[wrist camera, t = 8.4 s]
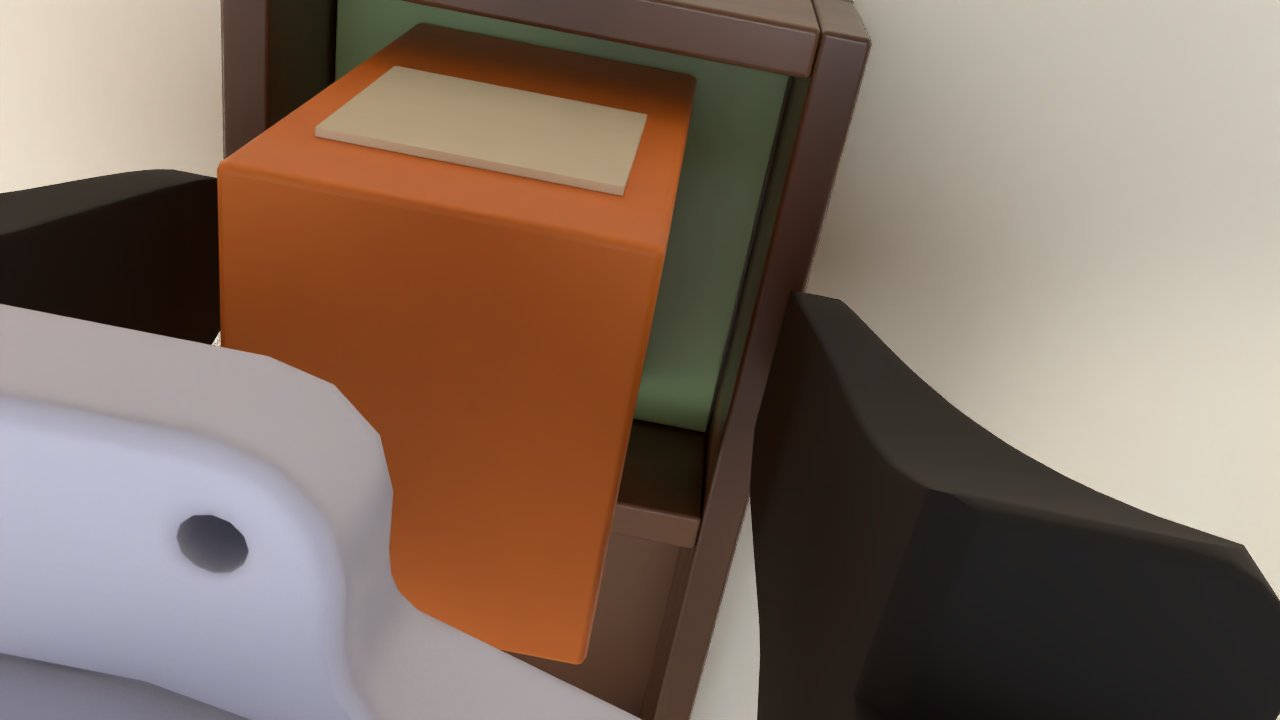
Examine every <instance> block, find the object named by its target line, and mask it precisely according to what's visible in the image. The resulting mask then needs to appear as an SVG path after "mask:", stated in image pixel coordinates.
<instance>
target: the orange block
mask: <svg viewBox="0 0 1280 720" xmlns="http://www.w3.org/2000/svg"><path fill="white" fill-rule="evenodd" d="M696 85H697V82H696V78H695V77H693V76H692V75H687V74H682V73H677V72H672V71H667V70H661V69H656V68H651V67H646V66H641V65H636V64H631V63H625V62H620V61H615V60H610V59H605V58H600V57H595V56H589V55H584V54H579V53H574V52H569V51H564V50H559V49H553V48H548V47H543V46H538V45H533V44H528V43H523V42H517V41H512V40H507V39H502V38H497V37H492V36H486V35H481V34H476V33H471V32H466V31H461V30H456V29H450V28H445V27H440V26H435V25H430V24H425V23H421V24H417V25H416V26H414V27H413V28H411V29H410V30H408V31H407V32H406V33H404V34H403V35H401V36H400V37H398V38H397V39H396V40H394V41H393V42H391V43H390V44H388V45H387V46H386V47H384V48H383V49H381V50H380V51H378V52H377V53H376V54H374V55H373V56H371V57H370V58H368V59H367V60H366V61H364V62H363V63H361V64H360V65H358V66H357V67H356V68H354V69H353V70H351V71H350V72H348V73H347V74H346V75H344V76H343V77H341V78H340V79H338V80H337V81H336V82H334V83H333V84H331V85H330V86H328V87H327V88H326V89H324V90H323V91H321V92H320V93H318V94H317V95H316V96H314V97H313V98H311V99H310V100H309V101H307V102H306V103H304V104H303V105H301V106H300V107H299V108H297V109H296V110H294V111H293V112H291V113H290V114H289V115H287V116H286V117H284V118H283V119H281V120H280V121H279V122H277V123H276V124H274V125H273V126H271V127H270V128H269V129H267V130H266V131H264V132H263V133H261V134H260V135H259V136H257V137H256V138H254V139H253V140H251V141H250V142H249V143H247V144H246V145H244V146H243V147H241V148H240V149H239V150H237V151H236V152H234V153H233V154H231V155H230V156H229V157H227V158H226V159H224V160H223V161H221V162H220V164H219V167H218V169H217V185H218V234H219V282H220V331H221V347H224V348H229V349H234V350H239V351H244V352H249V353H254V354H260V355H265V356H269V357H271V358H274V359H276V360H278V361H280V362H283V363H285V364H287V365H290V366H292V367H294V368H297V369H299V370H301V371H304V372H306V373H308V374H311V375H313V376H315V377H317V378H320V379H322V380H324V381H327V382H329V383H331V384H334V385H335V386H336V387H337V388H338V389H339V391H340V392H341V393H342V394H343V395H344V396H345V397H346V398H347V399H348V401H349V402H350V403H351V404H352V405H353V406H354V407H355V408H356V409H357V410H358V412H359V413H360V414H361V415H362V416H363V417H364V418H365V419H366V420H367V421H368V423H369V424H370V425H371V426H372V427H373V428H374V429H375V430H376V431H377V432H378V434H379V435H380V438H381V442H382V446H383V450H384V454H385V459H386V463H387V467H388V471H389V476H390V480H391V484H392V488H393V503H392V517H391V530H390V544H389V553H390V564H391V575H392V577H393V579H394V582H395V584H396V586H397V589H398V590H399V592H400V593H401V594H402V595H403V596H404V597H405V598H406V599H407V600H408V601H409V602H410V603H411V604H412V605H413V606H414V607H415V608H416V609H418V610H419V611H421V612H423V613H425V614H427V615H429V616H431V617H433V618H436V619H438V620H440V621H442V622H444V623H446V624H448V625H450V626H452V627H454V628H456V629H458V630H460V631H462V632H464V633H466V634H468V635H470V636H472V637H474V638H476V639H478V640H481V641H483V642H485V643H487V644H489V645H491V646H493V647H495V648H497V649H499V650H504V651H509V652H514V653H519V654H524V655H530V656H535V657H540V658H545V659H550V660H555V661H561V662H566V663H571V664H581V663H582V662H583V661H584V659H585V658H586V656H587V651H588V646H589V641H590V636H591V631H592V625H593V620H594V615H595V610H596V605H597V600H598V595H599V590H600V585H601V580H602V575H603V570H604V564H605V559H606V554H607V549H608V544H609V539H610V534H611V529H612V524H613V519H614V514H615V509H616V504H617V498H618V493H619V488H620V483H621V478H622V473H623V468H624V463H625V458H626V453H627V448H628V443H629V437H630V432H631V427H632V422H633V417H634V412H635V407H636V402H637V397H638V392H639V387H640V382H641V376H642V371H643V366H644V361H645V356H646V351H647V346H648V341H649V336H650V331H651V326H652V321H653V316H654V310H655V305H656V300H657V295H658V290H659V285H660V280H661V275H662V270H663V265H664V260H665V254H666V249H667V244H668V238H669V233H670V227H671V222H672V216H673V211H674V205H675V200H676V194H677V189H678V183H679V178H680V172H681V167H682V162H683V156H684V151H685V145H686V140H687V134H688V129H689V123H690V118H691V112H692V107H693V101H694V96H695V90H696Z"/></svg>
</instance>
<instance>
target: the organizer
mask: <svg viewBox="0 0 1280 720" xmlns="http://www.w3.org/2000/svg"><path fill="white" fill-rule="evenodd" d="M421 23H425V24H430V25H435V26H440V27H445V28H450V29H456V30H461V31H466V32H471V33H476V34H481V35H486V36H492V37H497V38H502V39H507V40H512V41H517V42H523V43H528V44H533V45H538V46H543V47H548V48H553V49H559V50H564V51H569V52H574V53H579V54H584V55H589V56H595V57H600V58H605V59H610V60H615V61H620V62H625V63H631V64H636V65H641V66H646V67H651V68H656V69H661V70H667V71H672V72H677V73H682V74H687V75H692V76H693V77H695V78H696V82H697V85H696V90H695V96H694V101H693V107H692V112H691V118H690V123H689V129H688V134H687V140H686V145H685V151H684V156H683V162H682V167H681V172H680V178H679V183H678V189H677V194H676V200H675V205H674V211H673V216H672V222H671V227H670V233H669V238H668V244H667V249H666V254H665V260H664V265H663V270H662V275H661V280H660V285H659V290H658V295H657V300H656V305H655V310H654V316H653V321H652V326H651V331H650V336H649V341H648V346H647V351H646V356H645V361H644V366H643V371H642V376H641V382H640V387H639V392H638V397H637V402H636V407H635V412H634V417H633V422H632V427H631V432H630V437H629V443H628V448H627V453H626V458H625V463H624V468H623V473H622V478H621V483H620V488H619V493H618V498H617V504H616V509H615V514H614V519H613V524H612V529H611V534H610V539H609V544H608V549H607V554H606V559H605V564H604V570H603V575H602V580H601V585H600V590H599V595H598V600H597V605H596V610H595V615H594V620H593V625H592V631H591V636H590V641H589V646H588V651H587V656H586V658H585V659H584V661H583V662H582V663H581V664H571V663H566V662H561V661H555V660H550V659H545V658H540V657H535V656H530V655H524V654H519V653H514V652H509V651H504V650H501V651H503V652H505V653H507V654H509V655H511V656H513V657H515V658H517V659H519V660H521V661H524V662H526V663H528V664H530V665H532V666H534V667H536V668H538V669H540V670H542V671H544V672H546V673H548V674H550V675H552V676H554V677H556V678H558V679H560V680H562V681H564V682H566V683H569V684H571V685H573V686H575V687H577V688H579V689H581V690H583V691H585V692H587V693H589V694H591V695H593V696H595V697H597V698H599V699H601V700H603V701H605V702H607V703H609V704H612V705H614V706H616V707H618V708H620V709H622V710H624V711H626V712H628V713H630V714H632V715H634V716H636V717H638V718H640V719H642V720H690V717H691V713H692V709H693V706H694V702H695V698H696V694H697V691H698V687H699V683H700V680H701V676H702V672H703V668H704V665H705V661H706V657H707V654H708V650H709V646H710V643H711V639H712V635H713V631H714V628H715V624H716V620H717V617H718V613H719V609H720V605H721V602H722V598H723V594H724V591H725V587H726V583H727V579H728V576H729V572H730V568H731V565H732V561H733V557H734V554H735V550H736V546H737V542H738V539H739V535H740V531H741V528H742V524H743V520H744V516H745V513H746V509H747V505H748V502H749V498H750V477H751V463H752V451H753V439H754V428H755V424H756V420H757V417H758V413H759V409H760V405H761V401H762V398H763V394H764V390H765V386H766V382H767V378H768V375H769V371H770V367H771V363H772V359H773V356H774V352H775V348H776V344H777V340H778V336H779V333H780V329H781V325H782V321H783V317H784V314H785V310H786V306H787V302H788V298H789V294H790V291H791V290H793V291H798V292H803V293H805V290H806V287H807V283H808V279H809V275H810V272H811V268H812V264H813V261H814V257H815V253H816V249H817V246H818V242H819V238H820V235H821V231H822V227H823V223H824V220H825V216H826V212H827V209H828V205H829V201H830V198H831V194H832V190H833V186H834V183H835V179H836V175H837V172H838V168H839V164H840V160H841V157H842V153H843V149H844V146H845V142H846V138H847V134H848V131H849V127H850V123H851V120H852V116H853V112H854V109H855V105H856V101H857V97H858V94H859V90H860V86H861V83H862V79H863V75H864V71H865V68H866V64H867V60H868V57H869V53H870V49H871V45H872V43H871V39H870V37H869V35H868V33H867V31H866V29H865V27H864V25H863V22H862V20H861V18H860V16H859V14H858V12H857V10H856V8H855V6H854V2H853V0H221V43H222V100H223V157H224V159H226V158H227V157H229V156H230V155H231V154H233V153H234V152H236V151H237V150H239V149H240V148H241V147H243V146H244V145H246V144H247V143H249V142H250V141H251V140H253V139H254V138H256V137H257V136H259V135H260V134H261V133H263V132H264V131H266V130H267V129H269V128H270V127H271V126H273V125H274V124H276V123H277V122H279V121H280V120H281V119H283V118H284V117H286V116H287V115H289V114H290V113H291V112H293V111H294V110H296V109H297V108H299V107H300V106H301V105H303V104H304V103H306V102H307V101H309V100H310V99H311V98H313V97H314V96H316V95H317V94H318V93H320V92H321V91H323V90H324V89H326V88H327V87H328V86H330V85H331V84H333V83H334V82H336V81H337V80H338V79H340V78H341V77H343V76H344V75H346V74H347V73H348V72H350V71H351V70H353V69H354V68H356V67H357V66H358V65H360V64H361V63H363V62H364V61H366V60H367V59H368V58H370V57H371V56H373V55H374V54H376V53H377V52H378V51H380V50H381V49H383V48H384V47H386V46H387V45H388V44H390V43H391V42H393V41H394V40H396V39H397V38H398V37H400V36H401V35H403V34H404V33H406V32H407V31H408V30H410V29H411V28H413V27H414V26H416V25H417V24H421Z"/></svg>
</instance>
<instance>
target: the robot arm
mask: <svg viewBox="0 0 1280 720" xmlns="http://www.w3.org/2000/svg"><path fill="white" fill-rule="evenodd" d="M219 331H220V282H219V234H218V185H217V178H213V177H208V176H203V175H198V174H193V173H188V172H183V171H178V170H166V169H156V170H143V171H134V172H126V173H119V174H112V175H106V176H100V177H94V178H88V179H83V180H77V181H71V182H66V183H60V184H55V185H49V186H43V187H38V188H32V189H26V190H20V191H14V192H7V193H1V194H0V720H642V719H640V718H638V717H636V716H634V715H632V714H630V713H628V712H626V711H624V710H622V709H620V708H618V707H616V706H614V705H612V704H609V703H607V702H605V701H603V700H601V699H599V698H597V697H595V696H593V695H591V694H589V693H587V692H585V691H583V690H581V689H579V688H577V687H575V686H573V685H571V684H569V683H566V682H564V681H562V680H560V679H558V678H556V677H554V676H552V675H550V674H548V673H546V672H544V671H542V670H540V669H538V668H536V667H534V666H532V665H530V664H528V663H526V662H524V661H521V660H519V659H517V658H515V657H513V656H511V655H509V654H507V653H505V652H503V651H501V650H499V649H497V648H495V647H493V646H491V645H489V644H487V643H485V642H483V641H481V640H478V639H476V638H474V637H472V636H470V635H468V634H466V633H464V632H462V631H460V630H458V629H456V628H454V627H452V626H450V625H448V624H446V623H444V622H442V621H440V620H438V619H436V618H433V617H431V616H429V615H427V614H425V613H423V612H421V611H419V610H418V609H416V608H415V607H414V606H413V605H412V604H411V603H410V602H409V601H408V600H407V599H406V598H405V597H404V596H403V595H402V594H401V593H400V592H399V590H398V589H397V586H396V584H395V582H394V579H393V577H392V575H391V564H390V553H389V544H390V530H391V517H392V503H393V488H392V484H391V480H390V476H389V471H388V467H387V463H386V459H385V454H384V450H383V446H382V442H381V438H380V435H379V434H378V432H377V431H376V430H375V429H374V428H373V427H372V426H371V425H370V424H369V423H368V421H367V420H366V419H365V418H364V417H363V416H362V415H361V414H360V413H359V412H358V410H357V409H356V408H355V407H354V406H353V405H352V404H351V403H350V402H349V401H348V399H347V398H346V397H345V396H344V395H343V394H342V393H341V392H340V391H339V389H338V388H337V387H336V386H335V385H334V384H331V383H329V382H327V381H324V380H322V379H320V378H317V377H315V376H313V375H311V374H308V373H306V372H304V371H301V370H299V369H297V368H294V367H292V366H290V365H287V364H285V363H283V362H280V361H278V360H276V359H274V358H271V357H269V356H265V355H260V354H254V353H249V352H244V351H239V350H234V349H229V348H224V347H219V346H214V345H212V343H213V341H214V340H215V338H216V336H217V335H218V333H219ZM750 504H751V518H752V533H753V546H754V559H755V572H756V585H757V598H758V612H759V625H760V672H759V693H758V714H757V720H1276V718H1277V717H1278V715H1279V714H1280V600H1279V599H1278V597H1277V596H1276V594H1275V593H1274V591H1273V590H1272V588H1271V586H1270V585H1269V583H1268V582H1267V580H1266V579H1265V577H1264V576H1263V574H1262V573H1261V571H1260V570H1259V568H1258V567H1257V565H1256V563H1255V562H1254V560H1253V559H1252V557H1251V556H1250V554H1249V553H1248V551H1247V550H1246V548H1245V547H1244V545H1242V544H1239V543H1236V542H1233V541H1230V540H1227V539H1224V538H1221V537H1218V536H1215V535H1212V534H1209V533H1206V532H1203V531H1200V530H1197V529H1194V528H1191V527H1188V526H1185V525H1182V524H1179V523H1176V522H1173V521H1170V520H1167V519H1164V518H1161V517H1158V516H1155V515H1152V514H1150V513H1147V512H1145V511H1142V510H1140V509H1137V508H1135V507H1133V506H1130V505H1128V504H1125V503H1123V502H1121V501H1118V500H1116V499H1114V498H1111V497H1109V496H1107V495H1104V494H1102V493H1099V492H1097V491H1095V490H1093V489H1091V488H1089V487H1087V486H1084V485H1082V484H1080V483H1078V482H1076V481H1074V480H1072V479H1070V478H1068V477H1066V476H1064V475H1062V474H1060V473H1058V472H1056V471H1055V470H1053V469H1051V468H1049V467H1047V466H1045V465H1044V464H1042V463H1040V462H1038V461H1036V460H1034V459H1033V458H1031V457H1029V456H1027V455H1025V454H1023V453H1022V452H1020V451H1019V450H1017V449H1015V448H1014V447H1012V446H1010V445H1009V444H1007V443H1005V442H1004V441H1002V440H1001V439H999V438H998V437H996V436H995V435H993V434H992V433H990V432H989V431H988V430H986V429H985V428H983V427H982V426H980V425H979V424H977V423H976V422H974V421H973V420H971V419H970V418H969V417H967V416H966V415H965V414H963V413H962V412H961V411H959V410H958V409H957V408H955V407H954V406H953V405H951V404H950V403H949V402H948V401H947V400H945V399H944V398H943V397H942V396H941V395H940V394H938V393H937V392H936V391H935V390H934V389H933V388H931V387H930V386H929V385H928V384H927V383H925V382H924V381H923V380H922V379H921V378H920V377H919V376H918V375H917V374H915V373H914V372H913V371H912V370H911V369H910V368H909V367H908V366H907V365H906V364H905V363H904V362H903V361H902V360H901V359H900V358H899V357H898V356H897V355H896V354H895V353H894V352H893V351H892V350H891V349H890V348H889V347H888V346H887V345H886V344H885V343H884V342H883V341H882V340H881V339H880V338H879V337H878V336H877V335H876V334H875V333H874V332H873V331H872V330H871V329H870V328H869V327H868V326H867V325H866V324H865V323H864V322H863V321H862V320H861V319H860V318H859V317H858V316H857V315H856V314H855V313H854V312H853V311H852V310H851V309H850V308H849V307H848V306H847V305H846V304H845V303H843V302H842V301H841V300H839V299H834V298H829V297H823V296H818V295H813V294H808V293H803V292H798V291H793V290H791V291H790V294H789V298H788V302H787V306H786V310H785V314H784V317H783V321H782V325H781V329H780V333H779V336H778V340H777V344H776V348H775V352H774V356H773V359H772V363H771V367H770V371H769V375H768V378H767V382H766V386H765V390H764V394H763V398H762V401H761V405H760V409H759V413H758V417H757V420H756V424H755V428H754V439H753V451H752V463H751V477H750Z"/></svg>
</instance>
